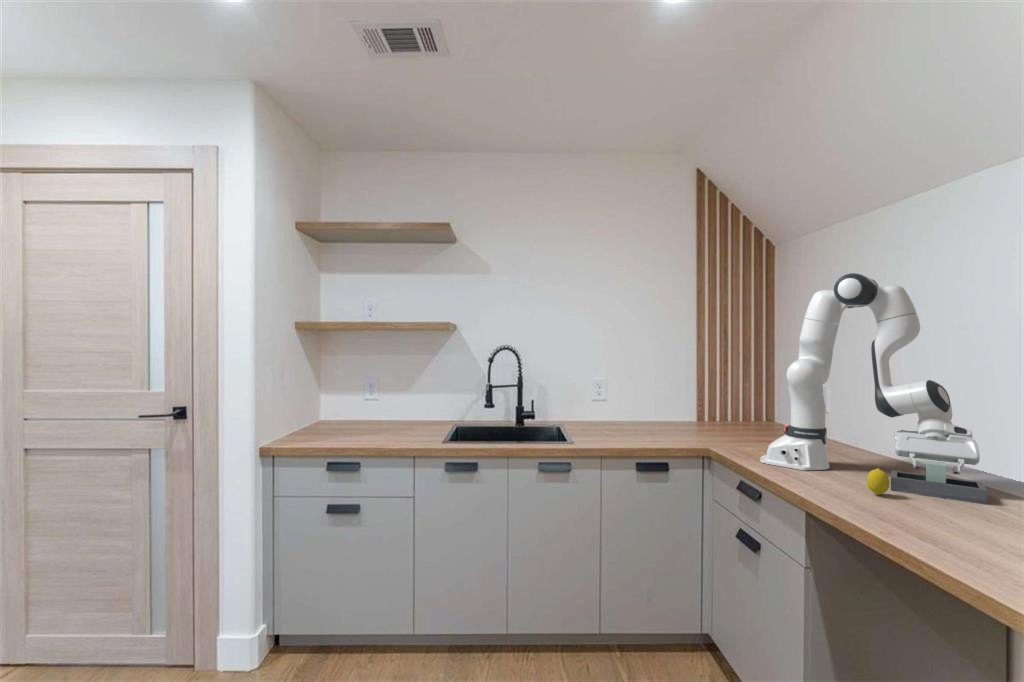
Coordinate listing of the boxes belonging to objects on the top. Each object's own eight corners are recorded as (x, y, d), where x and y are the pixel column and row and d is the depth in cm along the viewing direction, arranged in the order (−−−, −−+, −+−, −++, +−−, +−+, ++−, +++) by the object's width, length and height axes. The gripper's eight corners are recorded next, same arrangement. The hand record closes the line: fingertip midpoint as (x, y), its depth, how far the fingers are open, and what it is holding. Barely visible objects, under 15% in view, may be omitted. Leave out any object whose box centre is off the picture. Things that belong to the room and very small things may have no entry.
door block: (926, 489, 159) (926, 463, 159) (925, 486, 163) (926, 460, 163) (945, 492, 157) (946, 465, 157) (944, 489, 160) (945, 462, 160)
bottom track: (890, 490, 162) (890, 477, 162) (891, 482, 170) (891, 470, 170) (986, 504, 149) (987, 490, 149) (982, 495, 157) (982, 482, 157)
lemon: (867, 491, 161) (868, 465, 161) (889, 495, 157) (890, 468, 157) (865, 495, 156) (865, 468, 156) (888, 499, 153) (888, 471, 153)
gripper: (894, 423, 171) (893, 459, 163) (978, 431, 159) (981, 470, 151) (894, 435, 175) (893, 470, 167) (976, 443, 163) (979, 482, 155)
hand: (936, 470), depth 159 cm, fingers open, 8 cm apart
